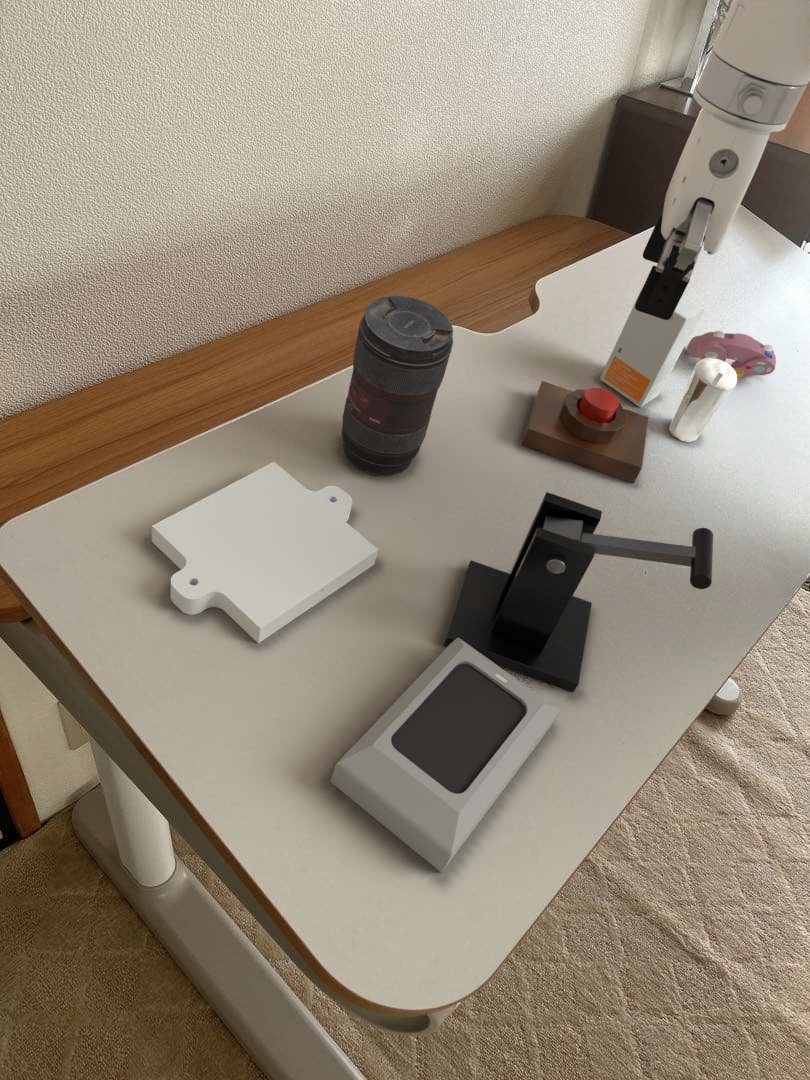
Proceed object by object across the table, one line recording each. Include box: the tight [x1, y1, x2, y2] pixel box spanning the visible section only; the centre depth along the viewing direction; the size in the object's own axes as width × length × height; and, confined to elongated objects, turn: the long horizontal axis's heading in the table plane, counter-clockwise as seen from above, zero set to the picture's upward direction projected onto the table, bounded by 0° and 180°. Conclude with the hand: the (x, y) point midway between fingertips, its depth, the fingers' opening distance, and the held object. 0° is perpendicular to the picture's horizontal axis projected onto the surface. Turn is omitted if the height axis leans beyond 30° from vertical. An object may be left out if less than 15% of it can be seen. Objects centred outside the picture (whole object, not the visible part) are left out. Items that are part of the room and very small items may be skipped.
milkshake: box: [668, 358, 738, 443], centre depth 94 cm, size 4×5×10 cm
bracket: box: [442, 491, 603, 693], centre depth 69 cm, size 11×9×13 cm
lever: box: [543, 516, 714, 590], centre depth 65 cm, size 12×5×2 cm, turn 74°
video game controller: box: [686, 330, 777, 379], centre depth 106 cm, size 10×5×7 cm, turn 81°
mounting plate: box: [151, 461, 379, 644], centre depth 73 cm, size 18×13×2 cm
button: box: [579, 386, 619, 423], centre depth 90 cm, size 4×4×2 cm
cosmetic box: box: [599, 292, 705, 408], centre depth 97 cm, size 6×4×12 cm
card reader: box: [329, 638, 560, 874], centre depth 63 cm, size 10×4×15 cm
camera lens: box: [341, 295, 454, 477], centre depth 79 cm, size 8×8×15 cm
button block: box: [521, 380, 649, 484], centre depth 92 cm, size 12×9×4 cm
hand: (654, 286), depth 79 cm, fingers open, 9 cm apart
